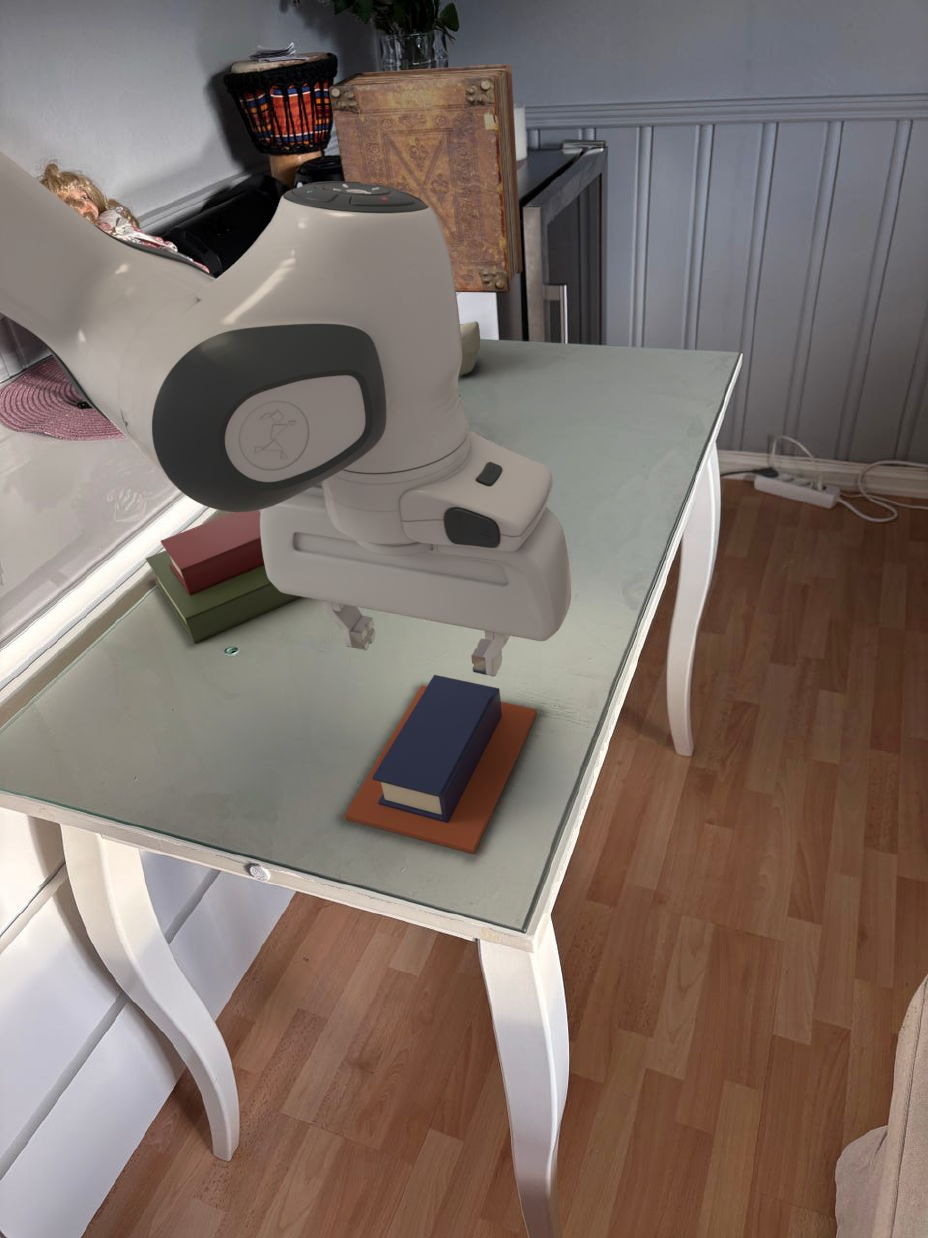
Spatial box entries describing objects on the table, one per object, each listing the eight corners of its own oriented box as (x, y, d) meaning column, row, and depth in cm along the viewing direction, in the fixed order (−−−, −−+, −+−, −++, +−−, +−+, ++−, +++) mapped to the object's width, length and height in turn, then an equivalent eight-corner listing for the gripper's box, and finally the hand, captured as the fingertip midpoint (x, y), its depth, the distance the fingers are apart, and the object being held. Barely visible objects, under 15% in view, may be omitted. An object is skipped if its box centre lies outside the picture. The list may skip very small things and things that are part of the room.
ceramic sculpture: (455, 325, 112) (357, 320, 119) (465, 391, 118) (370, 382, 125) (494, 295, 119) (399, 291, 126) (502, 358, 125) (411, 352, 132)
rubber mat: (474, 854, 62) (473, 849, 62) (345, 819, 66) (344, 815, 65) (537, 713, 72) (536, 709, 72) (422, 689, 75) (421, 685, 75)
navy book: (448, 823, 64) (443, 795, 62) (378, 804, 66) (372, 777, 64) (502, 715, 72) (499, 688, 70) (438, 701, 73) (434, 674, 72)
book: (524, 272, 151) (513, 63, 132) (509, 293, 144) (495, 75, 125) (382, 271, 158) (352, 72, 139) (362, 290, 151) (328, 85, 132)
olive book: (194, 643, 83) (185, 618, 81) (154, 582, 91) (145, 558, 89) (349, 576, 89) (344, 551, 87) (299, 524, 97) (293, 500, 95)
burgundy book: (190, 595, 84) (180, 569, 82) (169, 566, 88) (160, 540, 86) (316, 543, 88) (310, 517, 87) (291, 517, 93) (285, 492, 91)
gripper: (219, 484, 55) (268, 657, 63) (546, 532, 48) (551, 718, 56) (272, 435, 59) (312, 602, 68) (578, 472, 52) (578, 653, 61)
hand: (423, 655), depth 62 cm, fingers open, 8 cm apart
